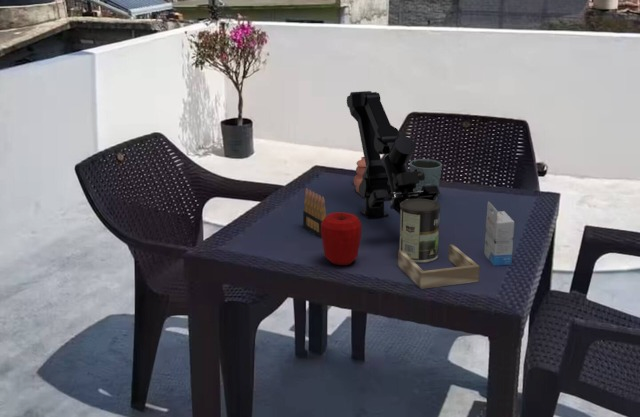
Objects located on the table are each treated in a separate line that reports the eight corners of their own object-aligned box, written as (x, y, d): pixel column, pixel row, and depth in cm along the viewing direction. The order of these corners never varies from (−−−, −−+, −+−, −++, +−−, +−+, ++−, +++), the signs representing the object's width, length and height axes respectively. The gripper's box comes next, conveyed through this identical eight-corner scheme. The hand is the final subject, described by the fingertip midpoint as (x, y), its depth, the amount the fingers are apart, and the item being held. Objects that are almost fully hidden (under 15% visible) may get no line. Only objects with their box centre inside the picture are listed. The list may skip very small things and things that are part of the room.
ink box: (512, 265, 200) (516, 210, 195) (493, 266, 199) (496, 211, 195) (501, 253, 208) (505, 199, 203) (483, 253, 207) (487, 200, 203)
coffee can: (438, 249, 210) (441, 199, 206) (437, 264, 201) (439, 211, 196) (400, 247, 212) (401, 197, 208) (396, 261, 203) (398, 209, 198)
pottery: (393, 197, 254) (393, 167, 251) (365, 199, 252) (366, 170, 248) (373, 181, 271) (373, 153, 267) (347, 184, 268) (347, 156, 265)
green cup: (418, 192, 258) (419, 157, 254) (446, 198, 252) (447, 162, 248) (402, 200, 250) (403, 164, 246) (431, 206, 244) (432, 169, 240)
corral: (397, 265, 200) (398, 250, 199) (452, 258, 204) (452, 244, 203) (421, 289, 187) (421, 273, 185) (478, 281, 191) (479, 266, 189)
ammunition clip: (327, 237, 220) (327, 196, 216) (321, 238, 219) (321, 197, 215) (308, 226, 228) (308, 186, 224) (303, 227, 227) (302, 187, 224)
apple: (314, 257, 205) (314, 208, 201) (350, 252, 209) (351, 203, 205) (330, 272, 196) (330, 221, 192) (367, 266, 200) (368, 216, 195)
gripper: (372, 161, 206) (386, 214, 200) (438, 155, 211) (454, 207, 204) (362, 181, 216) (375, 233, 209) (425, 176, 221) (440, 226, 214)
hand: (411, 224), depth 209 cm, fingers closed
